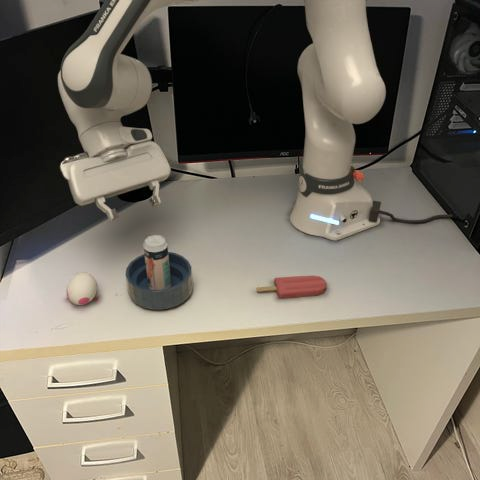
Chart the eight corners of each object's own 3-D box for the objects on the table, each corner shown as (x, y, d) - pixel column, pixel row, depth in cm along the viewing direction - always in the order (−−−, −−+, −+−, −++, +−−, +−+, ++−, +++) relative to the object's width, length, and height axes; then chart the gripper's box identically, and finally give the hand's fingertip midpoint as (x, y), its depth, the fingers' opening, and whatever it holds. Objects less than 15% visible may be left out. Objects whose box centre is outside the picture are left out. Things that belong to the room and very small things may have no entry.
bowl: (182, 266, 115) (180, 246, 111) (200, 303, 106) (199, 282, 102) (123, 279, 111) (119, 258, 107) (137, 318, 102) (133, 297, 98)
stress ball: (81, 299, 111) (58, 279, 107) (109, 283, 108) (86, 261, 104) (74, 323, 105) (49, 302, 101) (103, 306, 102) (78, 284, 99)
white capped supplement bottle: (149, 281, 109) (143, 233, 101) (171, 280, 110) (167, 233, 102) (148, 296, 106) (141, 248, 98) (171, 295, 106) (167, 247, 98)
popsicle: (254, 278, 110) (323, 273, 111) (254, 284, 111) (322, 279, 112) (258, 295, 106) (329, 289, 107) (258, 300, 107) (328, 295, 109)
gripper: (57, 153, 94) (89, 223, 95) (156, 127, 103) (185, 192, 104) (54, 166, 100) (84, 232, 101) (148, 141, 108) (175, 202, 109)
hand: (136, 212), depth 102 cm, fingers open, 8 cm apart
